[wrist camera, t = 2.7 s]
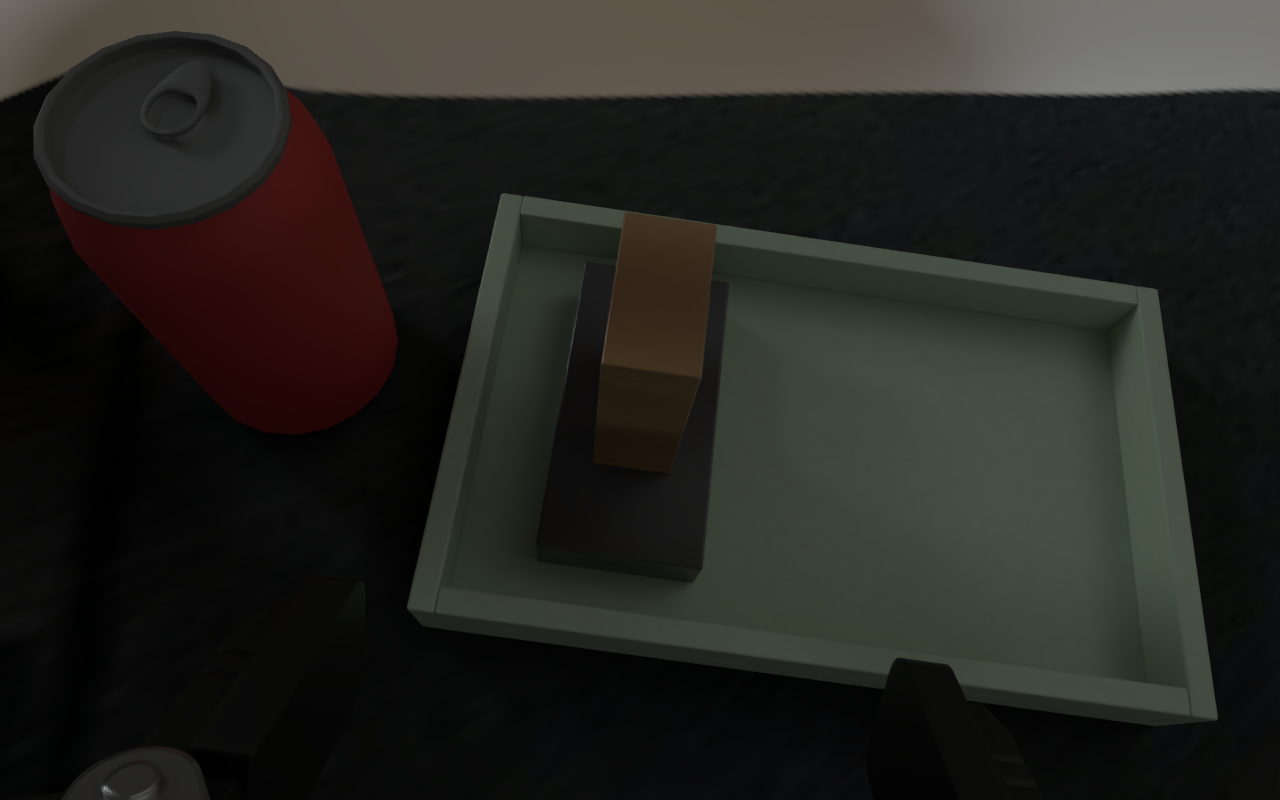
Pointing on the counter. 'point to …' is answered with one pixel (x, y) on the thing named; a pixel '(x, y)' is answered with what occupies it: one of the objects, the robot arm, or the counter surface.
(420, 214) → the counter surface
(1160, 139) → the counter surface
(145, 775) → the robot arm
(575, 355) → the eraser
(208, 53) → the beer can
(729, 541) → the tray
